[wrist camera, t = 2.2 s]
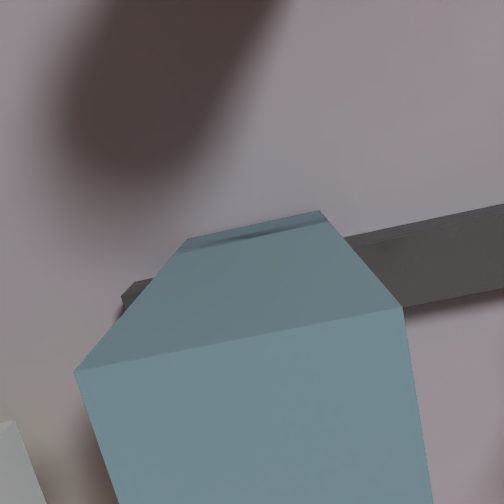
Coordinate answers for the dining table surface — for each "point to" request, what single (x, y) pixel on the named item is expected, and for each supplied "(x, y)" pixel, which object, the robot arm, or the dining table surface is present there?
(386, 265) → the rail
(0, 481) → the robot arm
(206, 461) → the block
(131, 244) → the dining table surface
